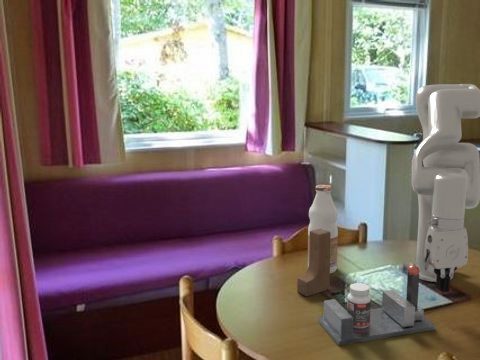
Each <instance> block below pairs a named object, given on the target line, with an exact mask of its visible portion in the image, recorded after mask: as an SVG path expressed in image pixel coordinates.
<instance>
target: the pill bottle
mask: <svg viewBox="0 0 480 360" xmlns="http://www.w3.org/2000/svg"><path fill="white" fill-rule="evenodd" d="M369 293H370V286H369V285H367V284H365V283H362V282H361V283H360V282H356V283H352V284H350V285H349V293H348V295H347V299H346V300H347V301H346V311H347V312H348V313H349V314H350V315H351V316H352V317H353V327H354V328H366V327H368V326H369V324H370V309H372V308H371V304H372V302H371V301H372V298H371V295H370V294H369Z"/></svg>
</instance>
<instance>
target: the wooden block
mask: <svg viewBox="0 0 480 360" xmlns="http://www.w3.org/2000/svg"><path fill="white" fill-rule="evenodd" d="M330 236H331V233H330V232H329V231H326V230H324V229H321V228H320V229H316V230H312V231H310V241H309V266H308V265H307V270H306V271H305V272H304V274H302V275H300V276H298V277H297V281H296V282H297V284H296V285H297V292H298V293H299V294H301V295H303V296H304V297H310V296H313V295H316V294H319V293H322V292H325V291H328V290H330V283H331V281H330V280H331V279H330V278H331V276H330V275H331V274H330ZM327 289H328V290H327ZM324 290H325V291H324Z"/></svg>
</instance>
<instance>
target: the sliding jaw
mask: <svg viewBox="0 0 480 360" xmlns="http://www.w3.org/2000/svg"><path fill="white" fill-rule="evenodd" d="M419 272H420V270H419V268H418V267H417V266H416V264H412V265H410V266H408V268H407V278H406V280H407V281H406V298H404V297H403V296H402V295H400V294H399V292H398V293H397V292H396V291H395V290H394V289H389V290H383V291H382V295H381V296H382V297H381V308H382V309H383V310H384V311H385V312H386V313H387V314H389V315H390V316H391V317H392V318H393V319H394V320H396V321H397V322H398V323H399V324H400V325H401V326H403V327H407V326H413V325H414V321H415V320H421V319H423V316H424V313H425V310H424V309H423V308H421V307H420V306H419V305H418V302H419V290H420V289H419V287H420V279H419ZM424 317H425V316H424Z"/></svg>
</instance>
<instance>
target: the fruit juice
mask: <svg viewBox="0 0 480 360" xmlns="http://www.w3.org/2000/svg"><path fill="white" fill-rule="evenodd" d="M315 191H316V194H315V197H314V199H313V201H312V204H311V206H310V207H309V208H308V209H309V210H308V218H309V224H308V227H307V229H308V230H307V231H308V232H307V267H308V266H309V241H310V231H312V230H316V229H320V228H321V229H324V230H326V231H329V232H330V233H331V236H330V275H331V274H333V273H335V272H336V271H337V269H338V238H339V230H338V225H337V219H338V214H339V213H338V209H337V207H336V205H335V203H334V200H333V197H332V194H331V192H332V185H330V184H329V185H328V184H318V185H316V186H315Z"/></svg>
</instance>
